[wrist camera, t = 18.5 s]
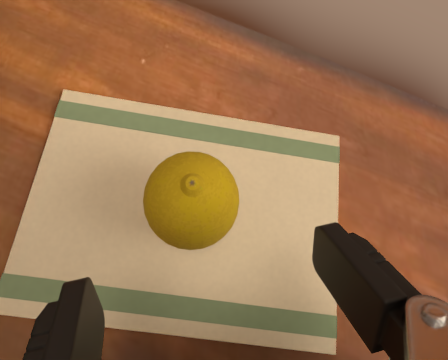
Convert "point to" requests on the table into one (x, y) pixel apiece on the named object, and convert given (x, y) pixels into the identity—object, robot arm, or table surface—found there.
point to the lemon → (191, 200)
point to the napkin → (166, 254)
